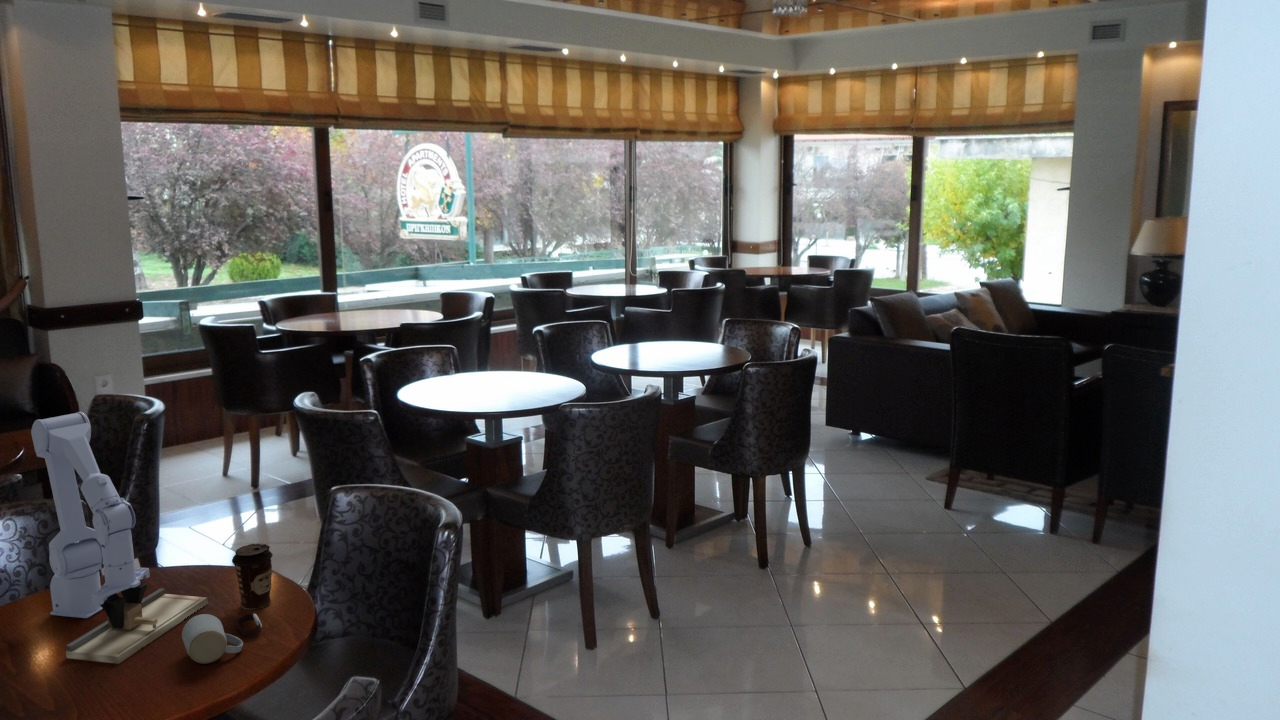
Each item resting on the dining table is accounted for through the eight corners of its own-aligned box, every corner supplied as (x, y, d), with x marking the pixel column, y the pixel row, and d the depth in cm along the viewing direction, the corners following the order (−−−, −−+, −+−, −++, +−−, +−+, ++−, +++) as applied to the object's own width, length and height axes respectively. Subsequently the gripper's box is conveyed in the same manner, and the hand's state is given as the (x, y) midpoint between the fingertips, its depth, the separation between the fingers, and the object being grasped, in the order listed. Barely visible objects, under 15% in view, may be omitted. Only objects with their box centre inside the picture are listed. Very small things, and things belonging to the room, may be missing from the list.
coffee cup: (284, 596, 228) (279, 542, 225) (267, 612, 220) (262, 556, 217) (247, 595, 229) (242, 541, 226) (229, 611, 221) (223, 555, 218)
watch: (267, 634, 210) (265, 618, 209) (244, 641, 207) (242, 624, 207) (255, 621, 216) (254, 606, 215) (233, 627, 213) (231, 612, 213)
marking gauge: (108, 628, 209) (106, 610, 208) (122, 619, 213) (120, 601, 212) (149, 632, 207) (147, 613, 206) (162, 623, 211) (160, 605, 210)
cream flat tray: (66, 658, 200) (65, 645, 200) (160, 599, 227) (159, 588, 227) (118, 663, 198) (117, 651, 197) (207, 603, 225) (206, 592, 224)
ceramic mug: (189, 670, 195) (186, 633, 194) (183, 653, 202) (180, 617, 200) (247, 656, 201) (244, 620, 199) (238, 641, 207) (236, 606, 206)
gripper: (110, 576, 200) (117, 640, 203) (159, 549, 214) (165, 609, 216) (79, 573, 202) (87, 636, 204) (130, 547, 215) (137, 606, 218)
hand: (125, 622), depth 210 cm, fingers closed on marking gauge, 4 cm apart
